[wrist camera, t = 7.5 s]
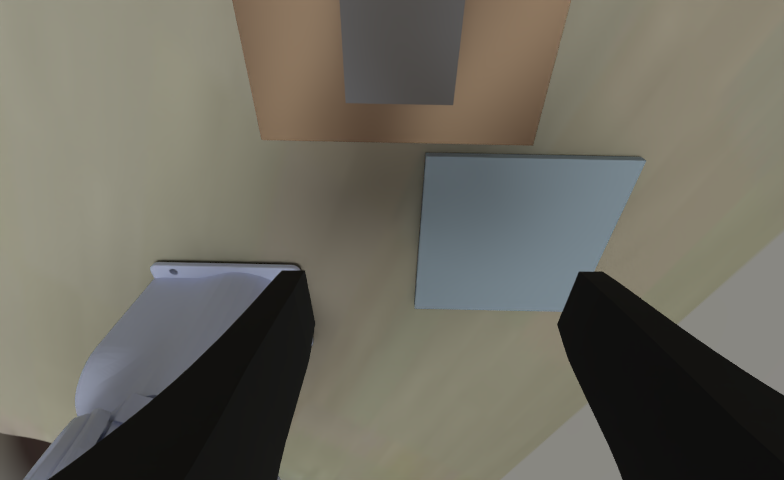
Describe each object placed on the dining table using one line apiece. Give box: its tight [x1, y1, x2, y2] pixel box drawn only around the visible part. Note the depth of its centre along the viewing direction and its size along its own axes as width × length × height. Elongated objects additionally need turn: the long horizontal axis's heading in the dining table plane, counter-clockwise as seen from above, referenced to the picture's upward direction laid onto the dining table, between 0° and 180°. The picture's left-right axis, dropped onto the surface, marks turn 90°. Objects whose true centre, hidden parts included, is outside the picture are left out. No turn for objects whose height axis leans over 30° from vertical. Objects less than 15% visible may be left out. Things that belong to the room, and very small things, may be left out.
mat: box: [414, 153, 646, 312], centre depth 21 cm, size 11×11×1 cm
